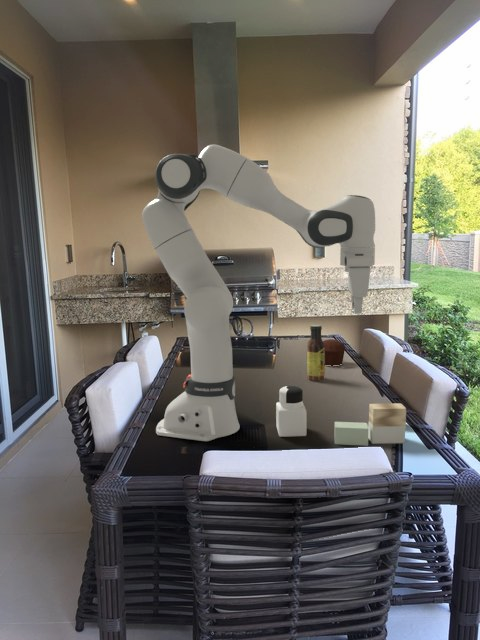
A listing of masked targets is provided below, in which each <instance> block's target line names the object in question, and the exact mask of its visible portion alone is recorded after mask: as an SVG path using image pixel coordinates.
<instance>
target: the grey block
mask: <svg viewBox="0 0 480 640" xmlns="http://www.w3.org/2000/svg"><path fill="white" fill-rule="evenodd" d="M367 425H368V440H369V441H370V443H371V444H374V445H375V444H405V441H406V440H405V439H406V426H383V427H373V426H372V425H371V423H370V422H369V421H368V423H367Z"/></svg>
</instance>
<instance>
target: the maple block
mask: <svg viewBox="0 0 480 640" xmlns="http://www.w3.org/2000/svg"><path fill="white" fill-rule="evenodd" d="M368 408H369V409H368V423H369V422H370V423H371V425H372V426H373V427H383V426H405V427H406V425H407V424H406V423H407V408H406V407H405V406H404V405H403V404H402V403H395V402H394V403H369V406H368Z"/></svg>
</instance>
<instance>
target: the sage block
mask: <svg viewBox="0 0 480 640" xmlns="http://www.w3.org/2000/svg"><path fill="white" fill-rule="evenodd" d="M333 433H334V435H333V437H334V444H335V445H345V446H346V445H347V446H366V447H367V446H369V438H368V423H367V422H353V421H352V422H351V421H350V422H349V421H334V432H333Z"/></svg>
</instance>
